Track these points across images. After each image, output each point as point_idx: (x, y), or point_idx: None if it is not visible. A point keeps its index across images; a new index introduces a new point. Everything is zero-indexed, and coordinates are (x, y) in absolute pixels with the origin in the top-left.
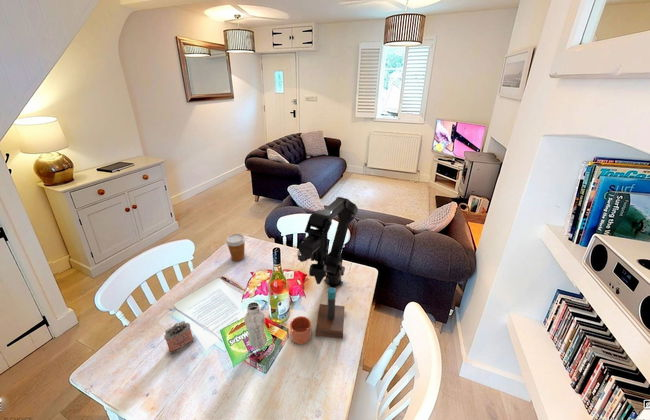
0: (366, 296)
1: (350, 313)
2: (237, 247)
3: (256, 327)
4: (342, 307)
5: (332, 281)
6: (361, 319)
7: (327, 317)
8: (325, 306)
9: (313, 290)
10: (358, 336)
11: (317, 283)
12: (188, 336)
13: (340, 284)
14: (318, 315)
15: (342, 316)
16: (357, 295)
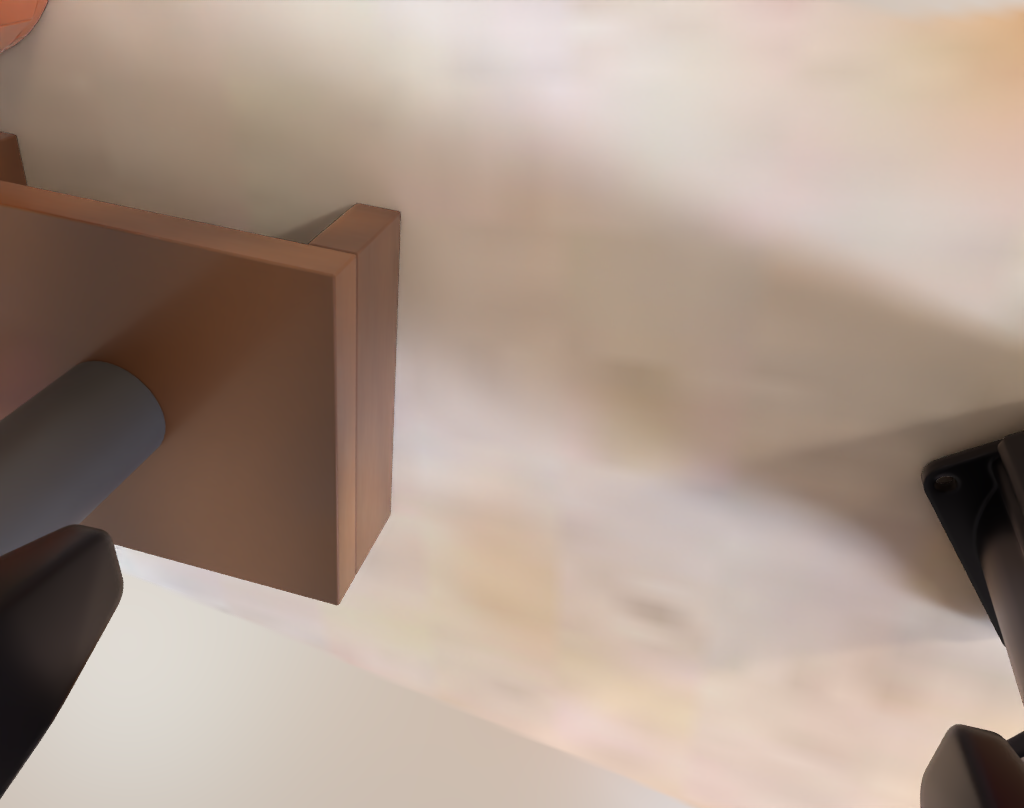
0: (672, 784)
1: (400, 575)
2: None
3: None
4: (311, 577)
5: (1013, 556)
6: (330, 643)
7: (81, 364)
8: (290, 363)
9: (961, 119)
10: (125, 563)
11: (49, 553)
12: None
13: (985, 605)
14: (80, 232)
15: (160, 542)
16: (701, 717)
